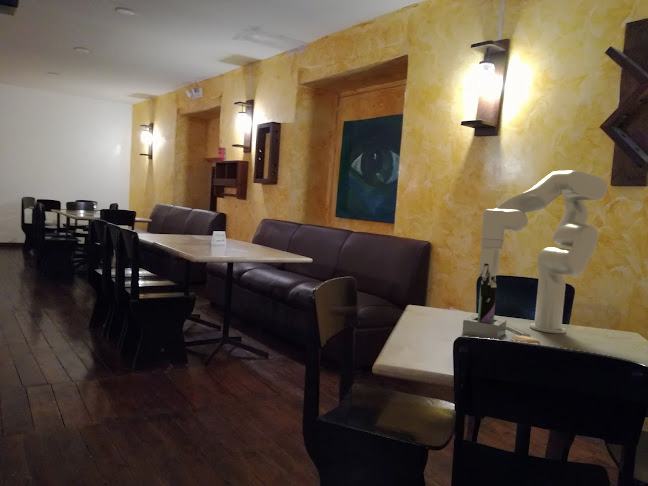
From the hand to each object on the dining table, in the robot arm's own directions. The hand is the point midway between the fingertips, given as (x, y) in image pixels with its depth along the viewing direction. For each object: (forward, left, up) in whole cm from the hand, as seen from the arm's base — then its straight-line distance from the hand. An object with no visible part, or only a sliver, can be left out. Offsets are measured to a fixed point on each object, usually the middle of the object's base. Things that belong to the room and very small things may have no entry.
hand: (487, 294), depth 179 cm
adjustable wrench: (-15, +4, -15) cm, 22 cm away
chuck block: (0, 0, -14) cm, 14 cm away
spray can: (0, 0, -14) cm, 14 cm away
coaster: (0, +14, -14) cm, 20 cm away
